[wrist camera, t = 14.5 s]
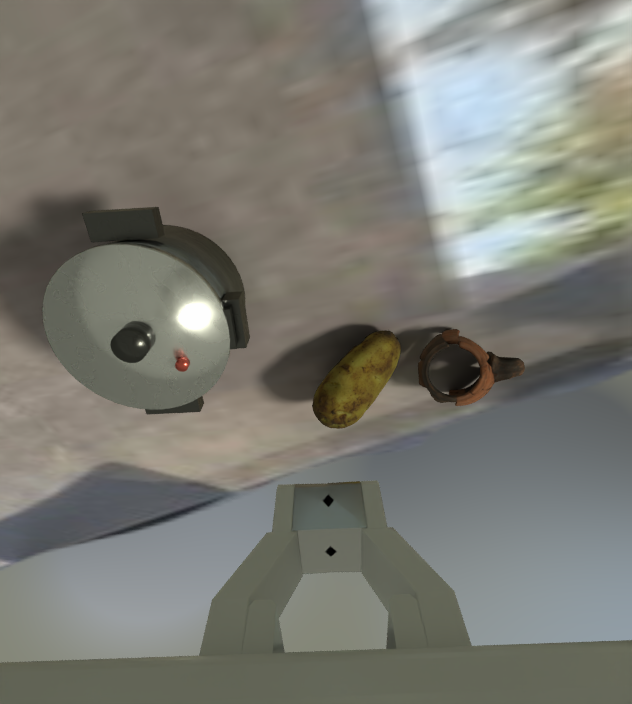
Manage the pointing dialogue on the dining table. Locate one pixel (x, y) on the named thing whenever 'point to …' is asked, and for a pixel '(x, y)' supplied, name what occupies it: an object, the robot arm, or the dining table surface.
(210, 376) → the lid
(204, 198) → the dining table surface
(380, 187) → the dining table surface
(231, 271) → the pot
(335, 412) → the potato
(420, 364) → the pottery mug
